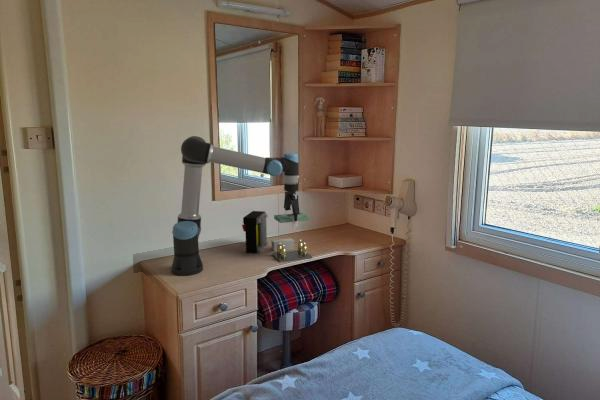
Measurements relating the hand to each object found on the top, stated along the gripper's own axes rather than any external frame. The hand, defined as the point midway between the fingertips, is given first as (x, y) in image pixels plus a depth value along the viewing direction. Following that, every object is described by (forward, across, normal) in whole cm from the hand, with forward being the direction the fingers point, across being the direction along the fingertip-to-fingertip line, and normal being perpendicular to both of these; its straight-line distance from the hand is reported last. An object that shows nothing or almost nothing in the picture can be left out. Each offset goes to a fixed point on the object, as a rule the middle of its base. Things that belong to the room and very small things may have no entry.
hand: (291, 224), depth 231 cm
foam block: (+18, +15, 0) cm, 23 cm away
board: (-3, 0, 0) cm, 3 cm away
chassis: (+18, 0, 0) cm, 18 cm away
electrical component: (+18, +21, +14) cm, 31 cm away
